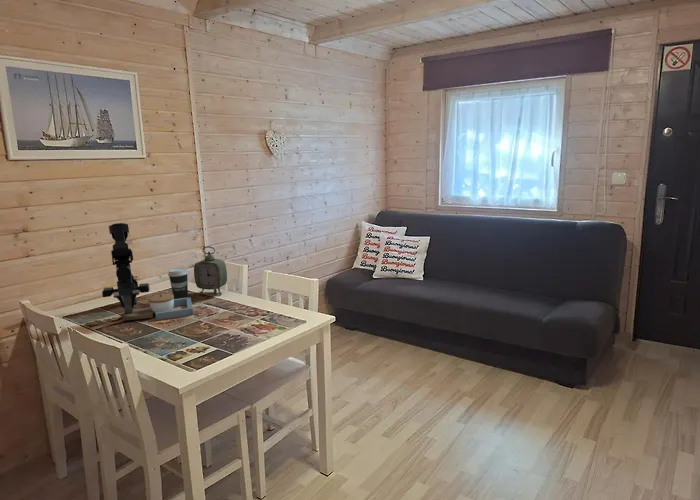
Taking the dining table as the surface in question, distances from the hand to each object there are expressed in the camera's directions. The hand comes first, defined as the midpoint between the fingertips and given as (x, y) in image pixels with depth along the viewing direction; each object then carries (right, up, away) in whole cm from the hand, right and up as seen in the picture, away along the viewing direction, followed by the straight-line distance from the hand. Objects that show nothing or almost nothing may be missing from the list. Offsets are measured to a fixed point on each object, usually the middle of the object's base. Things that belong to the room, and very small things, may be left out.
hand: (128, 308), depth 212 cm
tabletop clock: (+29, +4, +33) cm, 44 cm away
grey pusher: (+4, -3, +2) cm, 5 cm away
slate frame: (+18, -2, +7) cm, 19 cm away
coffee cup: (+14, +1, +26) cm, 30 cm away
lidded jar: (+13, -3, +5) cm, 15 cm away
